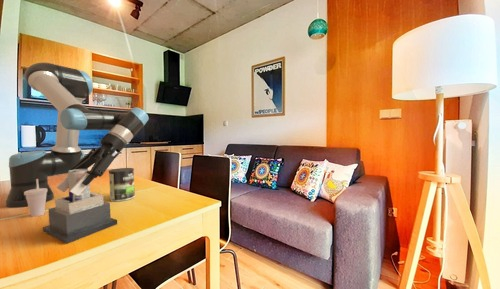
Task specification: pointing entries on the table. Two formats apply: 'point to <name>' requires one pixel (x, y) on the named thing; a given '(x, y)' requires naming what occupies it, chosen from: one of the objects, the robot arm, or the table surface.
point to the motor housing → (78, 218)
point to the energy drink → (72, 181)
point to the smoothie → (36, 200)
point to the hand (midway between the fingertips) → (66, 191)
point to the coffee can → (121, 184)
